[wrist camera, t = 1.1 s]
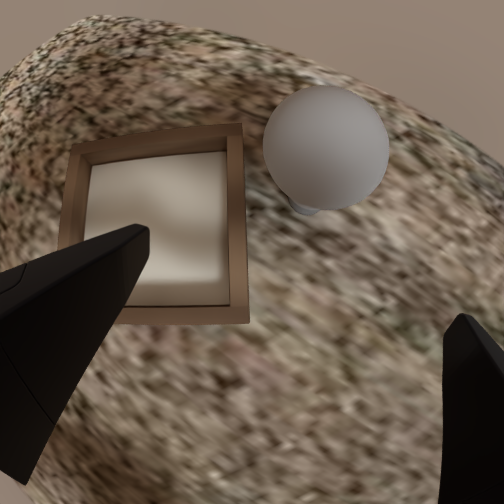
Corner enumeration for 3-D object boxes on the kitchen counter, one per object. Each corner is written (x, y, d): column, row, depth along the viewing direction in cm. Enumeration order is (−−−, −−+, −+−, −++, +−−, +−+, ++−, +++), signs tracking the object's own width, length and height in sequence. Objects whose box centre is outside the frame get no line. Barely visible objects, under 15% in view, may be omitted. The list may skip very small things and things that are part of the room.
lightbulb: (268, 249, 22) (277, 188, 11) (255, 167, 23) (253, 63, 12) (354, 237, 22) (428, 175, 11) (336, 159, 23) (382, 60, 12)
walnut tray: (249, 322, 21) (248, 323, 18) (75, 320, 21) (55, 320, 18) (243, 143, 23) (241, 123, 21) (87, 160, 24) (72, 144, 21)
